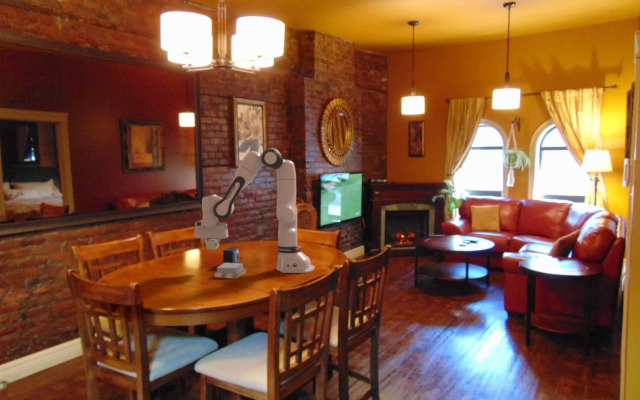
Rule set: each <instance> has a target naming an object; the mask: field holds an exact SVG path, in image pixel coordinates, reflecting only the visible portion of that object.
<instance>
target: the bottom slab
mask: <svg viewBox="0 0 640 400" xmlns="http://www.w3.org/2000/svg"><path fill="white" fill-rule="evenodd" d="M246 271H247V270H246V267H243V269H242V270H240V271H239V272H237V273H236V274H234V273H217V271H215V272H214V273H213V274H214V275H213V276H214V278H224V279H237V278H239V277H240V276H242V275H244V274H245V273H246Z"/></svg>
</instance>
